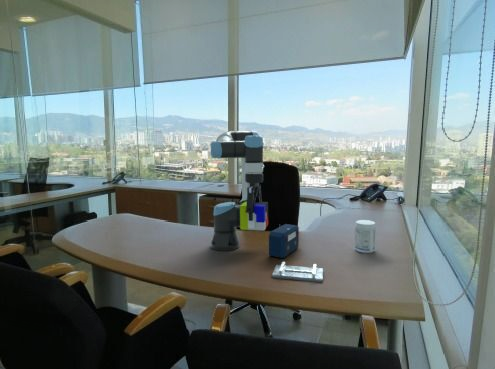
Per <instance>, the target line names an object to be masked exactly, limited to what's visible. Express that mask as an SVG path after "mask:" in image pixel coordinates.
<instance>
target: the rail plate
mask: <svg viewBox="0 0 495 369" xmlns="http://www.w3.org/2000/svg"><path fill="white" fill-rule="evenodd" d="M323 276H324V268H322V267H321V268H320V267H317V264H316V263H314V264H313V266H311V267H308V266H297V265H288V264H287V265H286V261H282V262H281V264H276V265H275V267H274V269H273V272H272V275H271V278H275V279H285V280H293V281H294V280H295V281H296V280H297V281H307V282H316V283H318V282H319V283H323V282H324V281H323V280H324V279H323V278H324V277H323Z"/></svg>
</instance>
